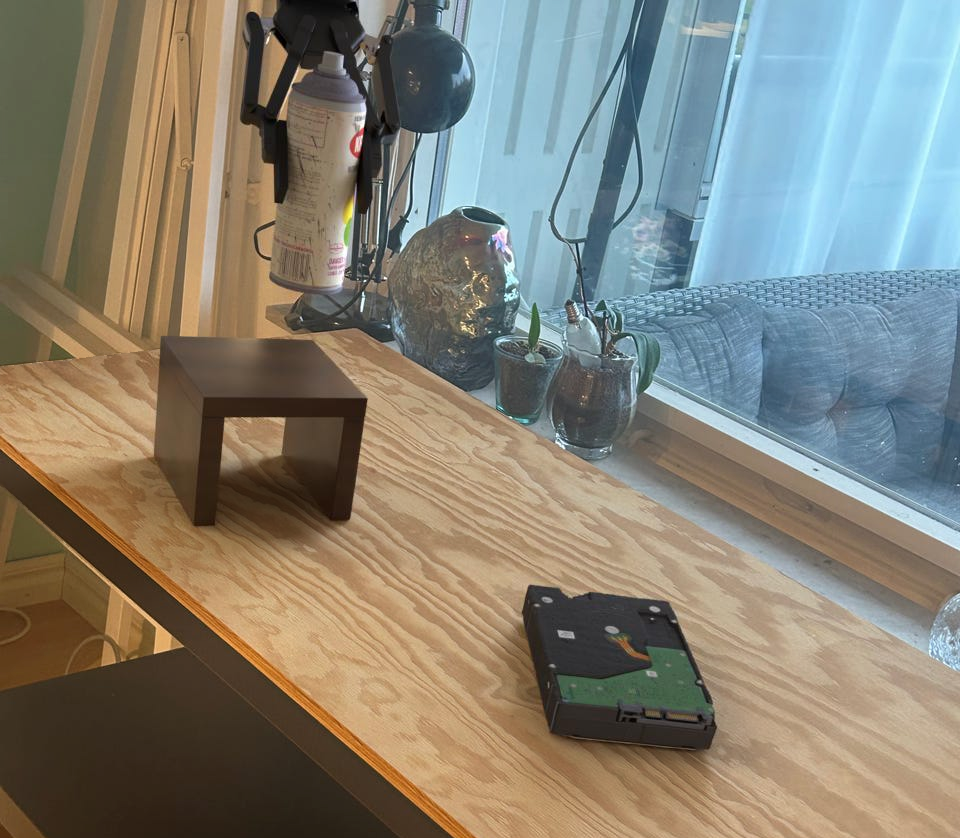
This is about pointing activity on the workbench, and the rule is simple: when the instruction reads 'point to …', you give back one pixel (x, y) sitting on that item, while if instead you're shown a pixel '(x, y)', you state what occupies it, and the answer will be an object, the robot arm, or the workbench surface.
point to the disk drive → (616, 670)
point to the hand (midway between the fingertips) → (323, 200)
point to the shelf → (256, 415)
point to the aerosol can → (319, 180)
